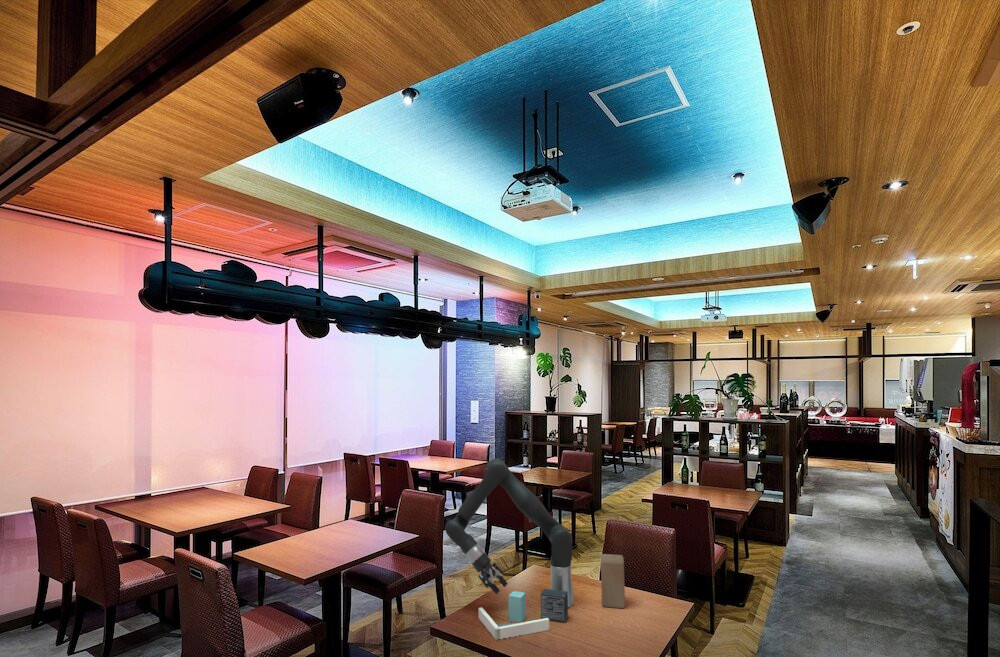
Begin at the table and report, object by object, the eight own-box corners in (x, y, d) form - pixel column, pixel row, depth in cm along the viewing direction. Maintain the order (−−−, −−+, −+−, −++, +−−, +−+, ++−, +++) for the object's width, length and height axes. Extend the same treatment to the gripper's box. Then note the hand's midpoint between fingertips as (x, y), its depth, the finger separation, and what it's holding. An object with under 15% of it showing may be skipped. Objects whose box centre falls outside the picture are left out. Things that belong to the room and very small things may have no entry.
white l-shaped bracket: (527, 609, 232) (527, 599, 232) (549, 630, 212) (549, 619, 213) (478, 617, 223) (478, 608, 224) (496, 640, 204) (496, 629, 204)
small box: (568, 616, 224) (568, 590, 225) (565, 623, 218) (565, 596, 219) (544, 613, 228) (544, 587, 229) (540, 619, 222) (540, 593, 223)
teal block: (513, 615, 226) (513, 590, 227) (525, 617, 224) (525, 592, 225) (508, 620, 221) (508, 595, 222) (521, 623, 219) (520, 597, 220)
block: (625, 609, 231) (623, 561, 233) (601, 607, 233) (600, 560, 235) (624, 600, 241) (623, 554, 243) (602, 598, 243) (601, 553, 245)
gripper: (476, 557, 224) (501, 589, 219) (490, 547, 237) (514, 577, 232) (465, 568, 226) (489, 601, 220) (479, 558, 239) (503, 588, 233)
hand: (502, 589), depth 226 cm, fingers open, 8 cm apart
